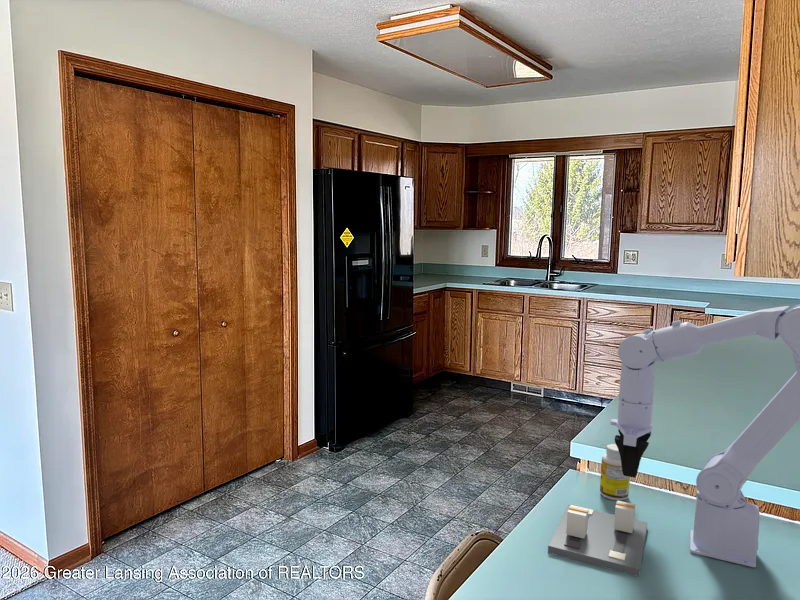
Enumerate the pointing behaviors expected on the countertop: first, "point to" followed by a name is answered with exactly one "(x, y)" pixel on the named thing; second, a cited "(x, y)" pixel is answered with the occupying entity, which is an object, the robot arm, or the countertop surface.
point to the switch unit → (602, 543)
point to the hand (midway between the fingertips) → (630, 471)
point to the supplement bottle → (613, 475)
